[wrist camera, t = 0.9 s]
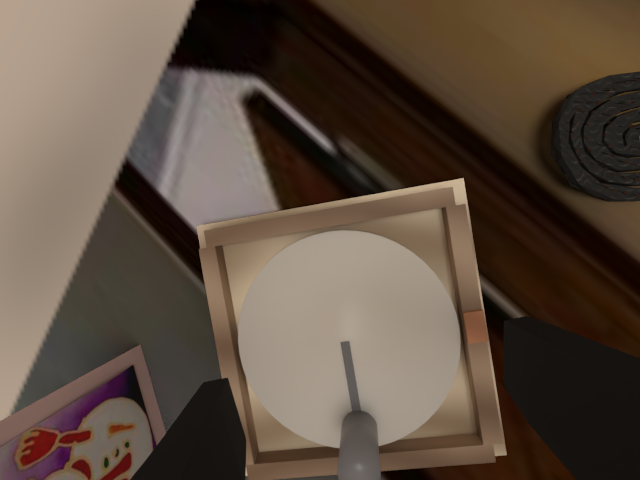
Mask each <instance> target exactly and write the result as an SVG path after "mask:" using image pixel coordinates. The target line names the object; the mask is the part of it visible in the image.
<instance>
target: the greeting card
mask: <svg viewBox="0 0 640 480" xmlns="http://www.w3.org/2000/svg"><path fill="white" fill-rule="evenodd" d="M165 434H166V431H165V428H164V424H163V421H162V417H161V414H160V410H159V407H158V403H157V400H156V397H155V393H154V390H153V386H152V383H151V379H150V376H149V372H148V369H147V365H146V362H145V358H144V355H143V351H142V348H141V344H140V345H138V346H136V347H134V348H133V349H131V350H129V351H127V352H125V353H124V354H122V355H120V356H118V357H116V358H114V359H113V360H111V361H109V362H107V363H105V364H104V365H102V366H100V367H98V368H96V369H94V370H93V371H91V372H89V373H87V374H85V375H84V376H82V377H80V378H78V379H76V380H74V381H73V382H71V383H69V384H67V385H65V386H64V387H62V388H60V389H58V390H56V391H54V392H53V393H51V394H49V395H47V396H45V397H43V398H42V399H40V400H38V401H36V402H34V403H33V404H31V405H29V406H27V407H25V408H23V409H22V410H20V411H18V412H16V413H14V414H13V415H11V416H9V417H7V418H5V419H4V420H2V421H0V480H130V479H131V478H132V476H133V475H134V474H135V473H136V471H137V470H138V469H139V468H140V467H141V465H142V464H143V463H144V462H145V460H146V459H147V458H148V456H149V455H150V454H151V452H152V451H153V450H154V448H155V447H156V446H157V445H158V443H159V442H160V441H161V439H162V438H163V437H164V435H165Z"/></svg>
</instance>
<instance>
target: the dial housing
mask: <svg viewBox="0 0 640 480" xmlns="http://www.w3.org/2000/svg"><path fill="white" fill-rule="evenodd" d="M338 230H355V231H362V232H368V233H373V234H376V235H379V236H383V237H385V238H388V239H390V240H392V241H394V242H397V243H398V244H400V245H402V246H403V247H405V248H407V249H408V250H410V251H412V252H413V253H414V254H415V255H417V256H418V257H419V258H420V259H422V260H423V261H424V262H425V263H426V264H427V265H428V266H429V267H430V268H431V269H432V270H433V272H434V273H435V274H436V275H437V277H438V278H439V280H440V281H441V282H442V284H443V285H444V287H445V289H446V291H447V293H448V294H449V296H450V298H451V301H452V303H453V306H454V309H455V311H456V315H457V319H458V324H459V329H460V341H461V344H460V359H459V364H458V369H457V373H456V376H455V379H454V382H453V385H452V387H451V389H450V391H449V393H448V395H447V397H446V398H445V400H444V401H443V403H442V404H441V406H440V407H439V408H438V410H437V411H436V412H435V413H434V414H433V415H432V416H431V417H430V418H429V420H428V421H426V422H425V423H424V424H423V425H421V426H420V427H419V428H418V429H417V430H415V431H413V432H412V433H410V434H408V435H407V436H405V437H403V438H401V439H399V440H396V441H394V442H392V443H389V444H385V445H382V446H379V459H380V471H389V470H402V469H415V468H428V467H441V466H454V465H467V464H480V463H493V462H496V459H495V456H501V455H507V453H506V447H505V440H504V434H503V427H502V421H501V415H500V408H499V402H498V395H497V389H496V383H495V376H494V370H493V363H492V357H491V351H490V344H489V338H488V331H487V325H486V319H485V312H484V306H483V299H482V293H481V287H480V280H479V274H478V267H477V261H476V254H475V248H474V242H473V235H472V229H471V222H470V216H469V210H468V203H467V197H466V190H465V184H464V178H461V179H456V180H450V181H445V182H439V183H434V184H428V185H422V186H417V187H411V188H406V189H400V190H394V191H389V192H383V193H378V194H372V195H367V196H361V197H355V198H350V199H344V200H339V201H333V202H327V203H322V204H316V205H311V206H305V207H300V208H294V209H288V210H283V211H277V212H272V213H266V214H260V215H255V216H249V217H244V218H238V219H233V220H227V221H221V222H216V223H210V224H205V225H199V226H197V232H198V238H199V243H200V249H199V254H200V259H201V265H202V271H203V276H204V282H205V287H206V293H207V298H208V304H209V309H210V315H211V321H212V326H213V332H214V337H215V343H216V348H217V354H218V359H219V365H220V370H221V376H222V379H223V378H228V380H229V383H230V386H231V390H232V393H233V397H234V400H235V403H236V407H237V410H238V413H239V417H240V420H241V424H242V427H243V430H244V434H245V437H246V473H245V476H248V480H272V479H285V478H298V477H311V476H324V475H337V468H338V458H339V448H334V447H329V446H325V445H321V444H318V443H315V442H313V441H310V440H307V439H305V438H303V437H301V436H299V435H297V434H295V433H294V432H292V431H291V430H289V429H288V428H286V427H285V426H283V425H282V424H281V423H280V422H279V421H277V420H276V419H275V418H274V417H273V416H272V415H271V414H270V413H269V412H268V411H267V410H266V409H265V407H264V406H263V405H262V404H261V402H260V401H259V399H258V398H257V397H256V395H255V394H254V392H253V390H252V388H251V386H250V384H249V383H248V380H247V378H246V375H245V373H244V370H243V367H242V363H241V359H240V354H239V345H238V325H239V318H240V313H241V309H242V305H243V302H244V299H245V297H246V294H247V292H248V290H249V288H250V286H251V284H252V283H253V281H254V279H255V277H256V276H257V275H258V273H259V272H260V271H261V270H262V268H263V267H264V266H265V265H266V264H267V263H268V262H269V261H270V260H271V259H272V258H273V257H274V256H275V255H276V254H278V253H279V252H281V251H282V250H283V249H285V248H286V247H288V246H290V245H291V244H293V243H295V242H297V241H299V240H301V239H304V238H306V237H309V236H312V235H315V234H320V233H324V232H328V231H338Z"/></svg>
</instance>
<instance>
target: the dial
mask: <svg viewBox="0 0 640 480" xmlns="http://www.w3.org/2000/svg"><path fill="white" fill-rule="evenodd" d="M460 344H461V341H460V329H459V324H458V319H457V315H456V311H455V309H454V306H453V303H452V301H451V298H450V296H449V294H448V293H447V291H446V289H445V287H444V285H443V284H442V282H441V281H440V280H439V278H438V277H437V275H436V274H435V273H434V272H433V270H432V269H431V268H430V267H429V266H428V265H427V264H426V263H425V262H424V261H423V260H422V259H420V258H419V257H418V256H417V255H415V254H414V253H413V252H412V251H410V250H408V249H407V248H405V247H403V246H402V245H400V244H398V243H397V242H394V241H392V240H390V239H388V238H385V237H383V236H379V235H376V234H373V233H368V232H362V231H355V230H338V231H328V232H324V233H320V234H315V235H312V236H309V237H306V238H304V239H301V240H299V241H297V242H295V243H293V244H291V245H290V246H288V247H286V248H285V249H283V250H282V251H281V252H279V253H278V254H276V255H275V256H274V257H273V258H272V259H271V260H270V261H269V262H268V263H267V264H266V265H265V266H264V267H263V268H262V270H261V271H260V272H259V273H258V275H257V276H256V277H255V279H254V281H253V283H252V284H251V286H250V288H249V290H248V292H247V294H246V297H245V299H244V302H243V305H242V309H241V313H240V318H239V325H238V345H239V354H240V359H241V363H242V367H243V370H244V373H245V375H246V378H247V380H248V383H249V384H250V386H251V388H252V390H253V392H254V394H255V395H256V397H257V398H258V399H259V401H260V402H261V404H262V405H263V406H264V407H265V409H266V410H267V411H268V412H269V413H270V414H271V415H272V416H273V417H274V418H275V419H276V420H277V421H279V422H280V423H281V424H282V425H283V426H285V427H286V428H288V429H289V430H291V431H292V432H294V433H295V434H297V435H299V436H301V437H303V438H305V439H307V440H310V441H313V442H315V443H318V444H321V445H325V446H329V447H334V448H339V458H338V468H337V475H338V479H339V480H380V478H381V473H380V459H379V446H382V445H385V444H389V443H392V442H394V441H396V440H399V439H401V438H403V437H405V436H407V435H408V434H410V433H412V432H413V431H415V430H417V429H418V428H419V427H420V426H421V425H423V424H424V423H425V422H426V421H428V420H429V418H430V417H431V416H432V415H433V414H434V413H435V412H436V411H437V410H438V408H439V407H440V406H441V404H442V403H443V401H444V400H445V398H446V397H447V395H448V393H449V391H450V389H451V387H452V385H453V382H454V379H455V376H456V373H457V369H458V364H459V359H460Z"/></svg>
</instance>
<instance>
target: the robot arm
mask: <svg viewBox="0 0 640 480" xmlns="http://www.w3.org/2000/svg"><path fill="white" fill-rule="evenodd" d="M503 385H504V387H505V388H506V390H507V391H508V393H509V394H510V396H511V397H512V399H513V401H514V402H515V404H516V405H517V407H518V408H519V410H520V411H521V412H522V414H523V415H524V417H525V418H526V420H527V421H528V423H529V424H530V425H531V426H532V427H533V429H534V430H535V431H536V432H537V434H538V435H539V436H540V437H541V438H542V440H543V441H544V442H545V443H546V444H547V446H548V447H549V448H550V449H551V450H552V452H553V453H554V454H555V455H556V456H557V457H558V459H559V460H560V461H561V462H562V463H563V465H564V466H565V467H566V468H567V469H568V470H569V472H570V473H571V474H572V475H573V476H574V478H575V479H576V480H640V358H638V357H635V356H632V355H630V354H627V353H624V352H622V351H619V350H616V349H614V348H611V347H608V346H606V345H603V344H600V343H598V342H595V341H593V340H590V339H587V338H585V337H582V336H580V335H577V334H575V333H572V332H569V331H567V330H564V329H561V328H559V327H556V326H553V325H551V324H548V323H545V322H542V321H540V320H537V319H533V318H530V317H527V316H525V317H521V318H516V319H511V320H506V321H504V372H503ZM245 473H246V437H245V434H244V430H243V427H242V424H241V420H240V417H239V413H238V410H237V407H236V403H235V400H234V397H233V393H232V390H231V386H230V383H229V380H228V378H223V379H218V380H213V381H208V382H204V383H203V384H202V385H201V386H200V388H199V389H198V390H197V392H196V393H195V394H194V396H193V397H192V399H191V400H190V401H189V403H188V404H187V405H186V407H185V408H184V409H183V411H182V412H181V414H180V415H179V416H178V418H177V419H176V420H175V422H174V423H173V425H172V426H171V427H170V429H169V430H168V431H167V433H166V434H165V435H164V437H163V438H162V439H161V441H160V442H159V443H158V445H157V446H156V447H155V448H154V450H153V451H152V452H151V454H150V455H149V456H148V458H147V459H146V460H145V462H144V463H143V464H142V465H141V467H140V468H139V469H138V470H137V471H136V473H135V474H134V475H133V476H132V478H131V479H130V480H245Z"/></svg>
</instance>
